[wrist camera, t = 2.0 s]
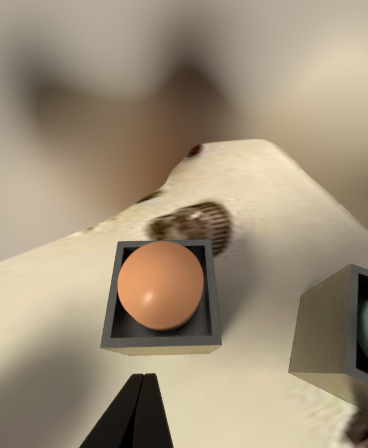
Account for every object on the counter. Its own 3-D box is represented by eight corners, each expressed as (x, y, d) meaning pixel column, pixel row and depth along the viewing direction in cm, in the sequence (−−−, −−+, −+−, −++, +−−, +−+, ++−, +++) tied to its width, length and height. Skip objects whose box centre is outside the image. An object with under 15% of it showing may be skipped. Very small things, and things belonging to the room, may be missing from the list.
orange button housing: (209, 353, 19) (221, 345, 13) (129, 355, 19) (100, 347, 13) (203, 276, 23) (210, 239, 17) (137, 278, 23) (117, 241, 17)
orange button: (203, 330, 14) (206, 323, 12) (122, 332, 14) (110, 326, 12) (199, 256, 17) (200, 240, 15) (131, 257, 17) (123, 242, 15)
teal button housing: (381, 418, 17) (509, 450, 10) (288, 372, 19) (345, 373, 12) (379, 327, 20) (473, 307, 14) (300, 295, 22) (350, 263, 15)
